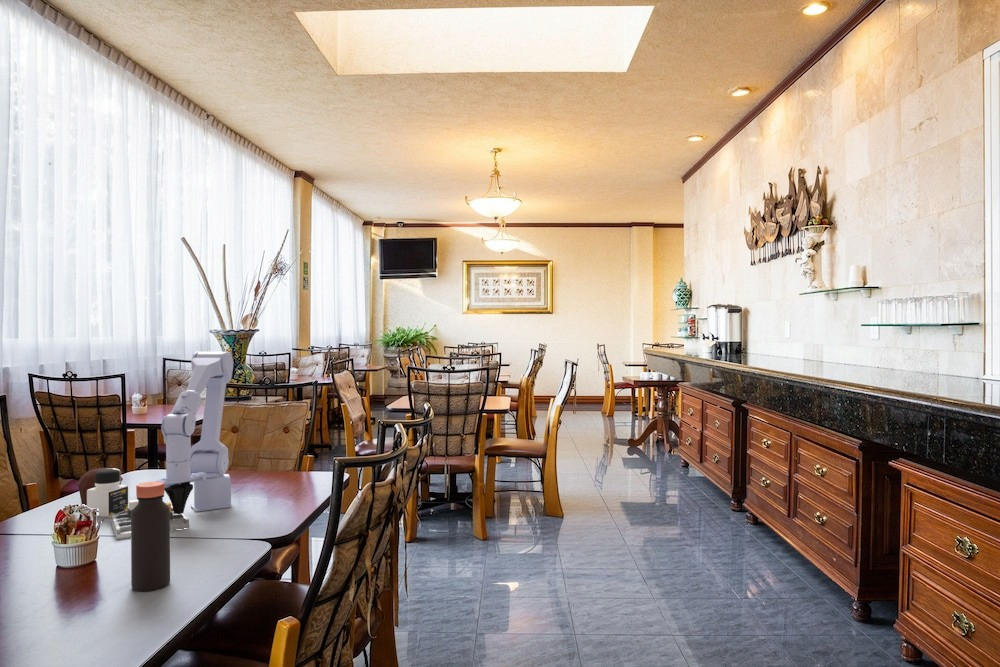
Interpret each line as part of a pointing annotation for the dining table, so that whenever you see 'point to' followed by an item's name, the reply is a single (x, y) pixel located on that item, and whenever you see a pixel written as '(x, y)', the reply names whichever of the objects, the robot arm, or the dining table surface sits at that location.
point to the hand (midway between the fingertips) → (178, 513)
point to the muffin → (88, 483)
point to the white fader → (131, 507)
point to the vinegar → (150, 538)
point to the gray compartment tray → (124, 524)
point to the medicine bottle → (108, 493)
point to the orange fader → (170, 511)
